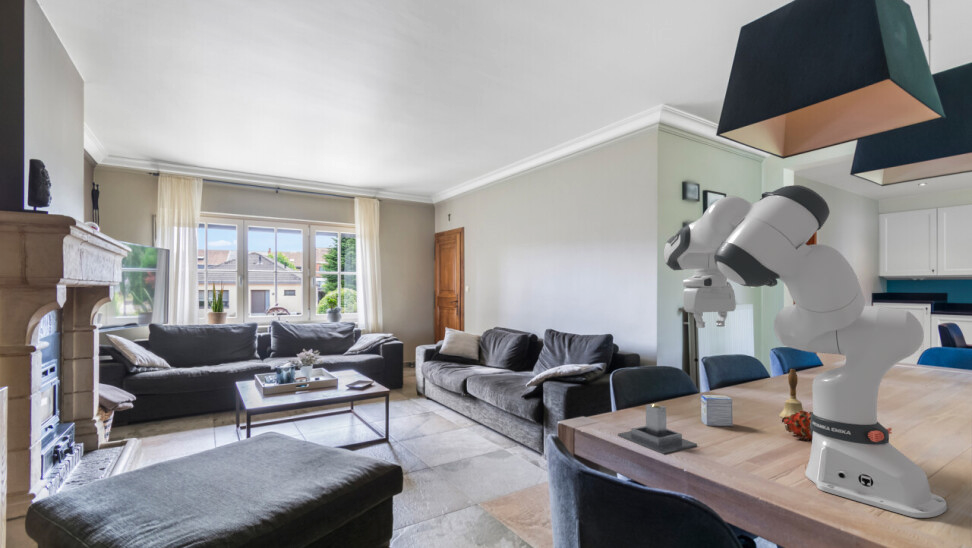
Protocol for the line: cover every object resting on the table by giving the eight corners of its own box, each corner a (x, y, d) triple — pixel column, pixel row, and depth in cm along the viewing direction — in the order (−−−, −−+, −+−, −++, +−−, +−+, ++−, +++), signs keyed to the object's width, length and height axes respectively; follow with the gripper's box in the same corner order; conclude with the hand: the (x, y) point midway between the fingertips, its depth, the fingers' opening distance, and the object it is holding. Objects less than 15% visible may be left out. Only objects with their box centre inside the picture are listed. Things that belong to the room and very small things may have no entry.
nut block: (666, 439, 122) (666, 405, 123) (657, 441, 121) (657, 407, 121) (654, 435, 126) (654, 402, 126) (646, 437, 124) (645, 403, 124)
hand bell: (773, 413, 151) (772, 367, 151) (797, 414, 151) (796, 367, 151) (789, 421, 142) (788, 371, 143) (815, 421, 142) (814, 371, 143)
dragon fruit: (830, 452, 119) (785, 445, 130) (841, 430, 123) (796, 424, 134) (814, 428, 118) (770, 422, 129) (825, 406, 122) (782, 402, 133)
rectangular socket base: (696, 446, 119) (696, 436, 119) (663, 454, 113) (663, 443, 113) (649, 429, 133) (649, 420, 133) (618, 435, 127) (618, 426, 127)
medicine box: (726, 422, 141) (726, 395, 141) (733, 427, 136) (732, 398, 136) (701, 421, 141) (700, 394, 142) (706, 426, 137) (706, 398, 137)
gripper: (721, 281, 141) (722, 325, 140) (679, 280, 131) (679, 327, 130) (741, 281, 135) (741, 326, 135) (698, 280, 125) (698, 329, 125)
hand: (710, 327), depth 133 cm, fingers open, 8 cm apart
